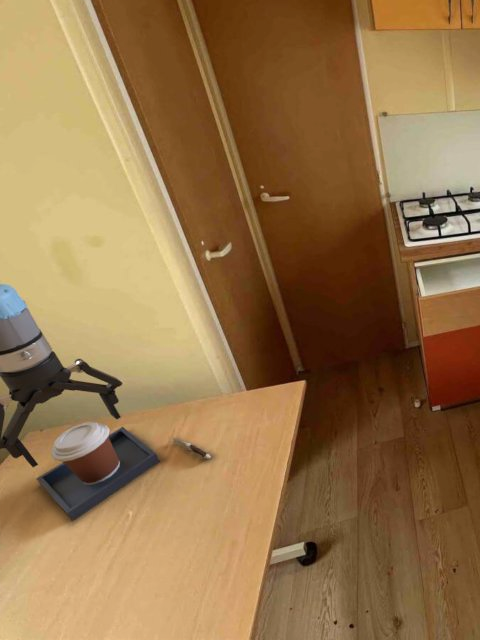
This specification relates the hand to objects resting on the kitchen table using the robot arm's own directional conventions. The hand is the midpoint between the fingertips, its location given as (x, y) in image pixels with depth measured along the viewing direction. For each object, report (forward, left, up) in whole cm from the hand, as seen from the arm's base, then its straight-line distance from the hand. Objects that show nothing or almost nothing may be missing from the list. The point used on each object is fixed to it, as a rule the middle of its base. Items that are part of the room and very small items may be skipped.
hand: (77, 438), depth 89 cm
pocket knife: (+11, +13, -12) cm, 21 cm away
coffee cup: (0, 0, -11) cm, 11 cm away
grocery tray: (0, 0, -12) cm, 12 cm away
